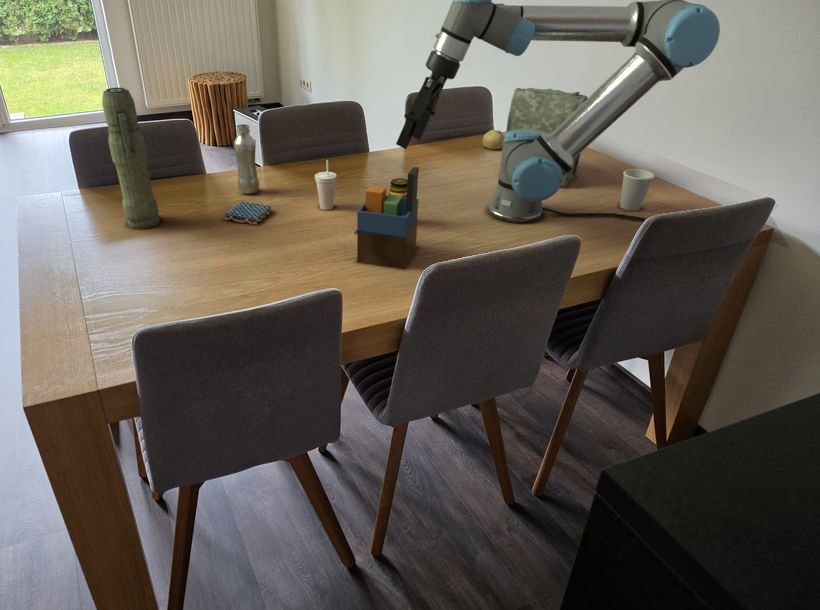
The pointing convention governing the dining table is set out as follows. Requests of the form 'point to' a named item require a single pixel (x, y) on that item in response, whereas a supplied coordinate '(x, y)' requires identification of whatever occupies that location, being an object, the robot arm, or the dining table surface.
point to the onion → (493, 139)
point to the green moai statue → (130, 158)
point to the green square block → (393, 205)
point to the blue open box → (392, 222)
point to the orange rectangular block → (375, 199)
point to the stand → (385, 248)
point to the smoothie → (326, 188)
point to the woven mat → (248, 213)
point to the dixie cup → (635, 188)
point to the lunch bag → (543, 113)
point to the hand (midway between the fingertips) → (408, 141)
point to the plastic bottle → (246, 160)
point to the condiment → (398, 187)
